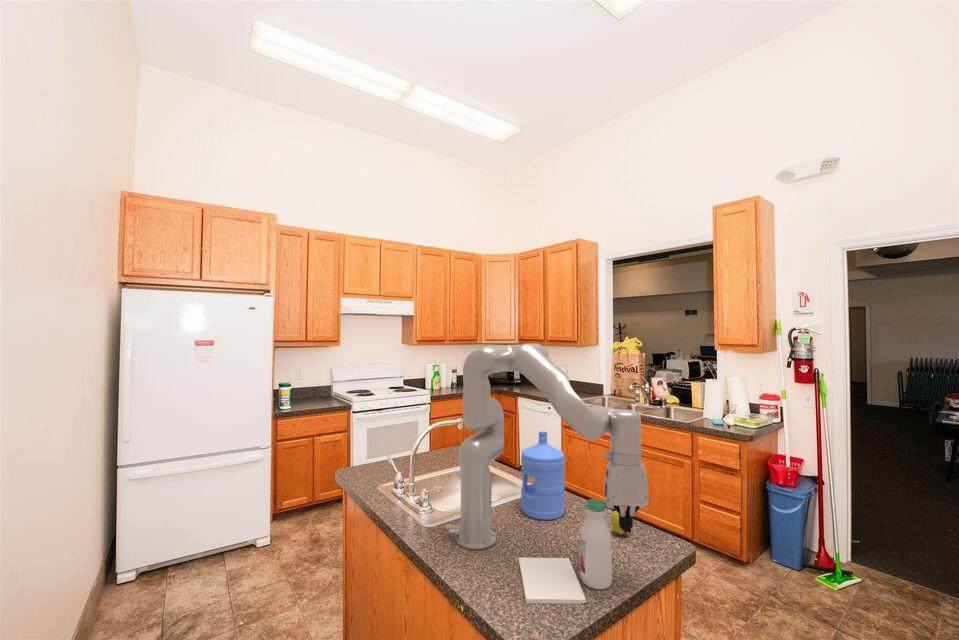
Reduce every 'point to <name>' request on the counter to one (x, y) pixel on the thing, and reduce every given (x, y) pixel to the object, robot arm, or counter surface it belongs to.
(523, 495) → the water jug
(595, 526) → the milk bottle
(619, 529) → the lemon
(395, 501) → the counter surface
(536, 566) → the cutting board
